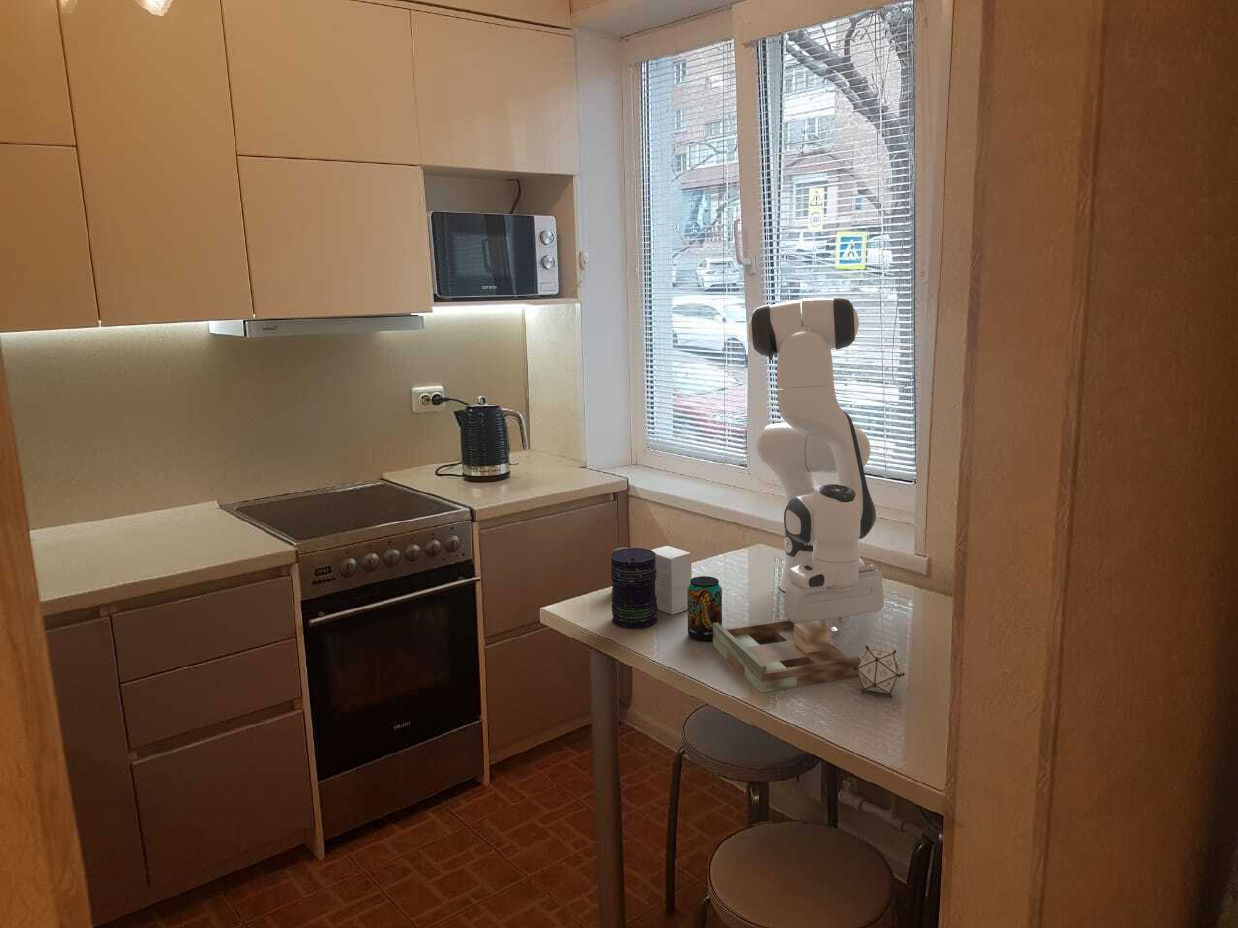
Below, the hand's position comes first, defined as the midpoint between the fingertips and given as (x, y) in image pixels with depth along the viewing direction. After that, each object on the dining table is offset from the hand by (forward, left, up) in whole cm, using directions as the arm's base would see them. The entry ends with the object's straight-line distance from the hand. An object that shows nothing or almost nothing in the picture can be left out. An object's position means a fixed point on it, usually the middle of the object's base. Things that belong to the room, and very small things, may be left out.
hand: (833, 637), depth 179 cm
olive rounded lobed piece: (+28, -47, -3) cm, 55 cm away
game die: (+1, +18, -3) cm, 18 cm away
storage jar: (+31, -30, -3) cm, 43 cm away
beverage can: (+20, -17, -3) cm, 26 cm away
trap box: (+11, 0, -3) cm, 11 cm away
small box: (+21, -35, -3) cm, 41 cm away
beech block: (+5, 0, -1) cm, 5 cm away
